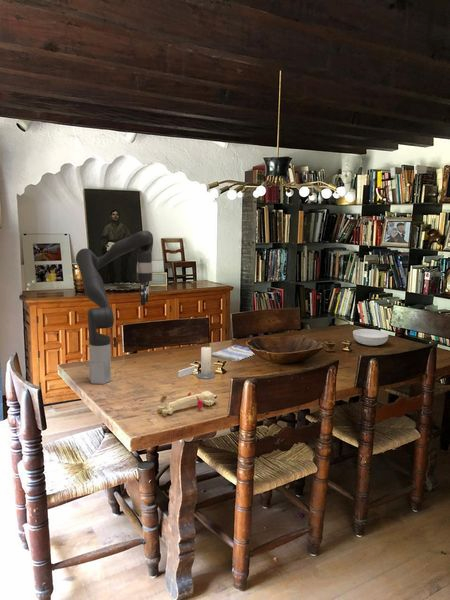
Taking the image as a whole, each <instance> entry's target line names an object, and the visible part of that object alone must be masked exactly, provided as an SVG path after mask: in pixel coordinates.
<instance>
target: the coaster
mask: <svg viewBox="0 0 450 600" xmlns="http://www.w3.org/2000/svg"><path fill="white" fill-rule="evenodd" d="M198 373H199V374H197V373H196V374H195V375H196V378H197V379H201V380H212V379H214V377H215V378H216V373H214V372H211V375H210V376H201V373H200V372H198ZM211 378H212V379H211Z"/></svg>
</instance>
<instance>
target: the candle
mask: <svg viewBox="0 0 450 600" xmlns="http://www.w3.org/2000/svg"><path fill="white" fill-rule="evenodd" d="M200 349H201V350H200V351H201V353H200V364H201V371H200V372H201V376H210V375H211V373H212V372H211V370H212V356H211V355H212V347H210V346H207V345H206V346H201V348H200Z"/></svg>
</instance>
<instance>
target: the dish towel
mask: <svg viewBox="0 0 450 600" xmlns="http://www.w3.org/2000/svg"><path fill="white" fill-rule="evenodd" d="M249 348H250V347H245V346H241V345H238V344H234V345H232V346H229V347H227V348H225V349H220V350H218V351H216V352H215V351H213V352H211V357H214V358H219V359H223V360H226V359H227V360H228V361H230V360H231V361H232V362H234V361H238V362H240V360H241V361H243V360H242V359H244V360H246V359H249V358H251V357H253V355H254V356H256V355H255V354H254V353H253V352H252V351H251V350H250V349H249ZM250 356H251V357H250ZM248 357H249V358H248ZM245 358H246V359H245Z"/></svg>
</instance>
